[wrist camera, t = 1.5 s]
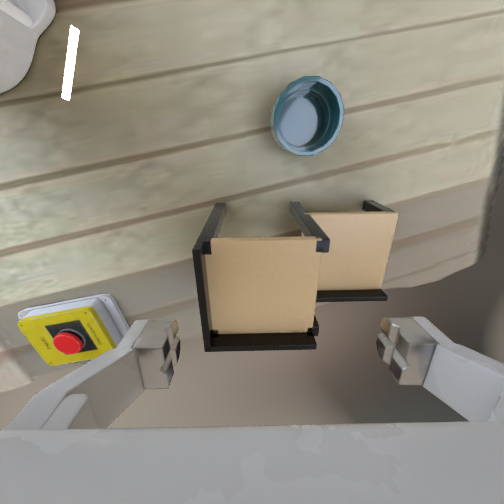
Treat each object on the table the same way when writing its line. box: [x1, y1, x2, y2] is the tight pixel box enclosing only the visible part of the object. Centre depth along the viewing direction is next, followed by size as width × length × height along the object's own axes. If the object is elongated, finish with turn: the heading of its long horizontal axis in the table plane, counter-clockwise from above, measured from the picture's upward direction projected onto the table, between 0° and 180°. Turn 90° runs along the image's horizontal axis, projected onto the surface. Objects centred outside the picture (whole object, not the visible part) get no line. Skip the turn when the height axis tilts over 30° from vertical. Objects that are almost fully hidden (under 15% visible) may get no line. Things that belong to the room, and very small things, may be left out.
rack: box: [192, 200, 399, 352], centre depth 27 cm, size 10×20×15 cm, turn 91°
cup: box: [270, 76, 344, 156], centre depth 25 cm, size 7×7×5 cm
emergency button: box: [18, 294, 130, 366], centre depth 37 cm, size 9×4×15 cm
